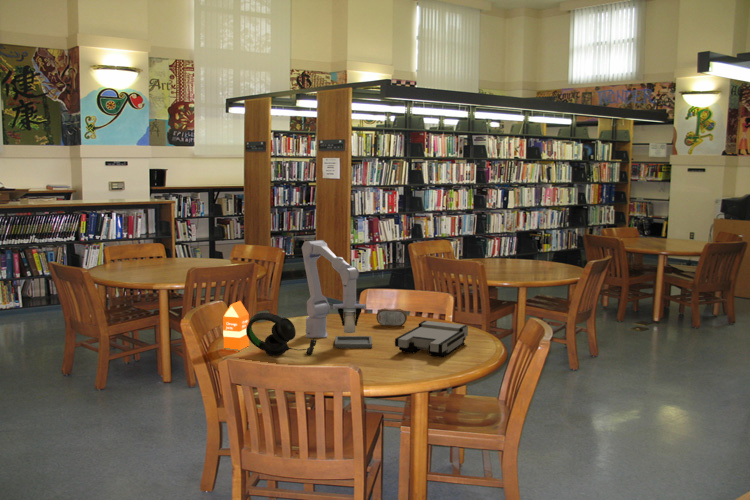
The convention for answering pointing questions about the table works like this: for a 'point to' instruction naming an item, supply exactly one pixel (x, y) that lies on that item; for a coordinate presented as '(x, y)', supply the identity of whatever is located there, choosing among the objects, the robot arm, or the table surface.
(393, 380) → the table surface
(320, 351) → the table surface
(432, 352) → the game console
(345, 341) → the tray
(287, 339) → the headset
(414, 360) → the table surface
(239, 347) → the orange juice
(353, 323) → the cylinder
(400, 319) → the tin
